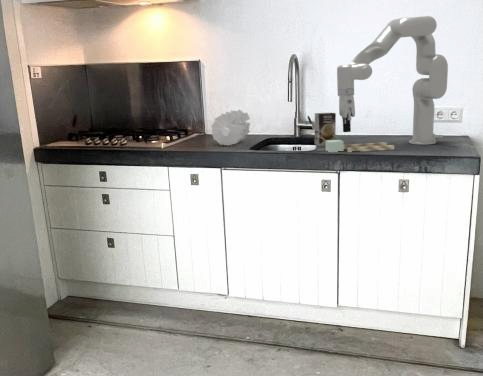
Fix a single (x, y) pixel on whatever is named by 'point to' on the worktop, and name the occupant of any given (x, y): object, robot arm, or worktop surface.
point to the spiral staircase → (230, 127)
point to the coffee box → (324, 128)
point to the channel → (368, 147)
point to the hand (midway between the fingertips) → (346, 131)
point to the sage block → (334, 145)
